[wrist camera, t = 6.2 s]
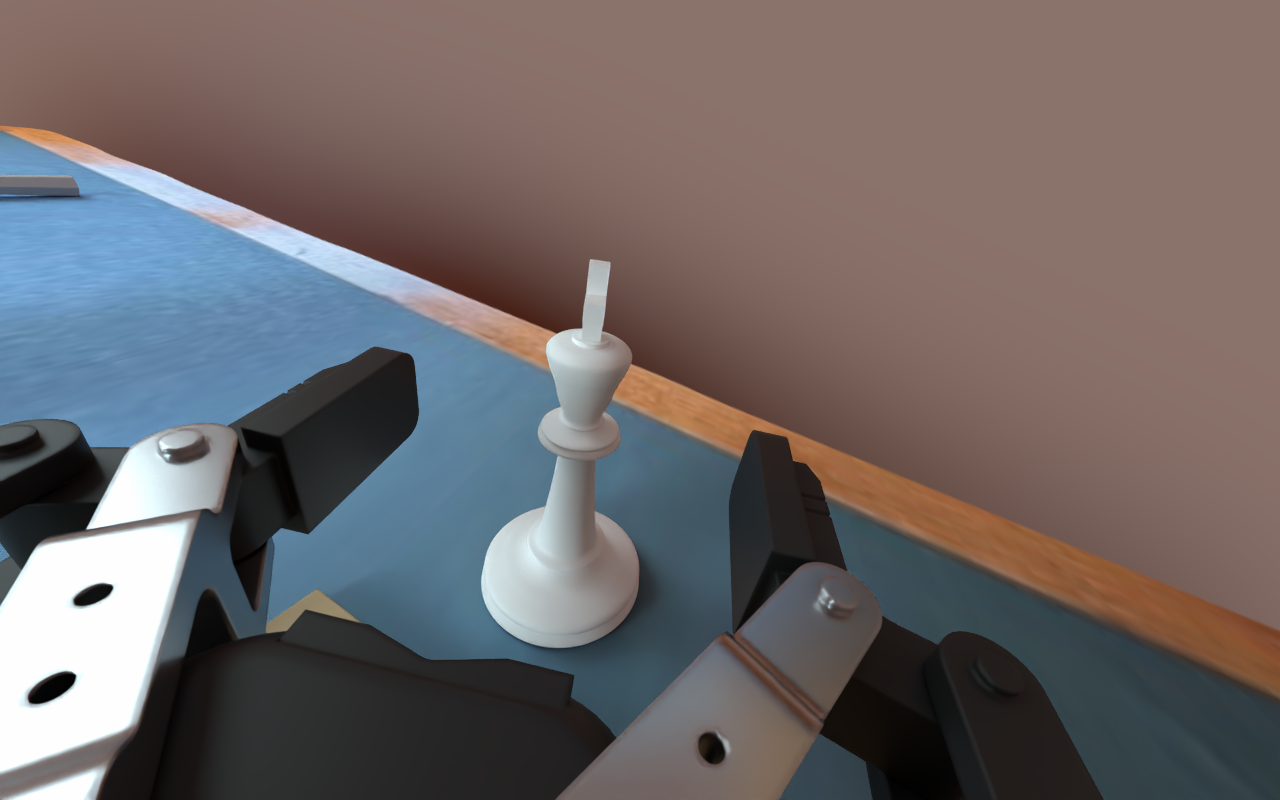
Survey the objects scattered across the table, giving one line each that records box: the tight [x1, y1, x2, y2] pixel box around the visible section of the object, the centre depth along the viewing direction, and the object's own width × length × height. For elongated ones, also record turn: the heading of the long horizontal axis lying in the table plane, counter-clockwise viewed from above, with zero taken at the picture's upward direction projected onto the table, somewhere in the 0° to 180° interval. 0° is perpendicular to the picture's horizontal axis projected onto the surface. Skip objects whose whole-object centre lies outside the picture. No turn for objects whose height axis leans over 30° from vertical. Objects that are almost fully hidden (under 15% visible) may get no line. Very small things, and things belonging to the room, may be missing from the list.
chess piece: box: [481, 259, 639, 648], centre depth 12 cm, size 5×5×10 cm
